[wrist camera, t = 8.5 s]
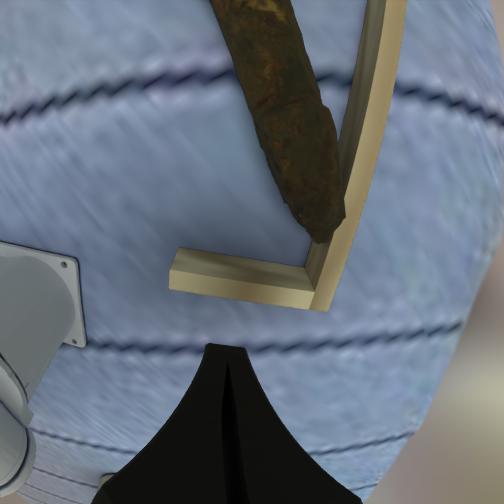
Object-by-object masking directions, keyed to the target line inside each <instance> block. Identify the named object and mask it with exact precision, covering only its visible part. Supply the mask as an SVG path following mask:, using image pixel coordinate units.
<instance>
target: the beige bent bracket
mask: <svg viewBox="0 0 504 504" xmlns="http://www.w3.org/2000/svg"><path fill="white" fill-rule="evenodd" d="M406 4H407V0H368V1H367V7H366V13H365V19H364V25H363V30H362V36H361V41H360V47H359V52H358V57H357V62H356V67H355V72H354V77H353V82H352V86H351V91H350V96H349V100H348V105H347V109H346V113H345V118H344V122H343V126H342V130H341V135H340V139H339V143H338V151H339V164H340V171H341V174H342V179H343V192H344V201H345V211H346V218H345V219H344V220H343V221H342V223H341V225H340V226H339V227H338V228H337V229H336V230H335V231H334V233H333V234H332V236H331V237H330V238H329V240H328V241H327V242H326V243H321V244H317V243H314V241H313V240H312V243H311V247H310V250H309V253H308V257H307V260H306V263H305V267H304V268H303V267H296V266H290V265H284V264H278V263H272V262H266V261H259V260H253V259H247V258H241V257H235V256H229V255H223V254H217V253H211V252H205V251H199V250H193V249H187V248H181V247H179V248H178V251H177V253H176V256H175V258H174V261H173V263H172V266H171V268H170V275H169V287H168V289H173V290H178V291H184V292H190V293H196V294H202V295H209V296H215V297H221V298H228V299H234V300H241V301H248V302H255V303H262V304H269V305H277V306H284V307H292V308H300V309H308V310H317V311H325V312H328V309H329V306H330V304H331V301H332V299H333V296H334V293H335V291H336V288H337V285H338V282H339V280H340V277H341V274H342V271H343V269H344V266H345V263H346V260H347V257H348V254H349V251H350V248H351V245H352V242H353V239H354V236H355V233H356V230H357V227H358V224H359V221H360V217H361V214H362V211H363V208H364V204H365V201H366V198H367V194H368V191H369V187H370V184H371V180H372V177H373V173H374V169H375V166H376V162H377V158H378V154H379V150H380V146H381V142H382V138H383V134H384V130H385V126H386V121H387V117H388V112H389V108H390V103H391V98H392V94H393V89H394V83H395V78H396V73H397V67H398V61H399V56H400V49H401V43H402V36H403V29H404V21H405V13H406Z"/></svg>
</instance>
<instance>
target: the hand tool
mask: <svg viewBox="0 0 504 504" xmlns="http://www.w3.org/2000/svg"><path fill="white" fill-rule="evenodd" d="M209 1H210V3H211V5H212V7H213V10H214V13H215V15H216V18H217V21H218V23H219V26H220V28H221V31H222V33H223V36H224V39H225V41H226V44H227V46H228V49H229V52H230V54H231V56H232V60H233V63H234V67H235V70H236V72H237V75H238V78H239V81H240V84H241V87H242V90H243V92H244V95H245V98H246V102H247V104H248V108H249V110H250V112H251V114H252V117H253V120H254V125H255V129H256V133H257V136H258V139H259V143H260V146H261V148H262V149H263V150H264V152H265V155H266V160H267V162H268V166H269V168H270V170H271V173H272V175H273V177H274V180H275V182H276V184H277V185H278V187H279V190H280V193H281V196H282V198H283V200H284V203H287V204H288V206H289V208H290V210H291V213H292V215H293V216H294V218H295V219H296V220H297V222H298V223H299V224H300V225H302V226H303V227H304V228H305V229H306V230H307V232H308V233H309V234H310V236H311V238H312V239H313V241H314V243H317V244H321V243H326V242H327V241H328V240H329V238H330V237H331V236H332V234H333V233H334V231H335V230H336V229H337V228H338V227H339V226H340V225H341V223H342V221H343V220H344V219H345V218H346V211H345V201H344V192H343V179H342V174H341V171H340V164H339V151H338V142H337V133H336V128H335V124H334V121H333V118H332V115H331V112H330V110H329V108H327V107H326V106H324V105H323V104H322V100H321V95H320V90H319V87H318V84H317V80H316V78H315V75H314V72H313V69H312V66H311V63H310V60H309V57H308V55H307V53H306V50H305V46H304V42H303V37H302V33H301V31H300V28H299V26H298V23H297V20H296V17H295V14H294V10H293V7H292V4H291V1H290V0H209Z"/></svg>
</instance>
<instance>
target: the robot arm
mask: <svg viewBox="0 0 504 504" xmlns="http://www.w3.org/2000/svg"><path fill="white" fill-rule="evenodd" d="M64 262H65V263H66V264H67V266H66V265H65V264H64ZM75 340H76V341H75ZM62 342H64V343H67V344H71V345H74V346H78V347H82V348H83V347H85V345H86V335H85V329H84V321H83V314H82V305H81V296H80V285H79V272H78V263H77V261H76V260H75V259H74V258H72V257H67V256H62V255H57V254H53V253H48V252H43V251H39V250H34V249H30V248H26V247H21V246H17V245H12V244H8V243H4V242H0V497H3V496H6V495H9V494H11V493H13V492H15V491H16V490H17V489H19V488H20V487H21V486H22V485H23V484H24V483H25V482H26V480H27V479H28V477H29V475H30V473H31V471H32V468H33V465H34V461H35V456H36V442H35V438H34V435H33V433H32V431H31V430H30V428H29V427H28V426H29V423H30V421H31V419H32V417H33V413H32V412H31V410H30V409H29V407H28V405H27V404H28V403H29V401H30V399H31V397H32V395H33V393H34V391H35V389H36V387H37V386H38V384H39V382H40V380H41V378H42V377H43V375H44V373H45V371H46V369H47V368H48V366H49V364H50V362H51V361H52V359H53V357H54V356H55V354H56V352H57V351H58V349H59V347H60V346H61V344H62ZM91 504H363V503H362V501H361V498H359V497H358V496H356V495H355V494H354V493H352V492H351V491H349V490H348V489H347V488H345V487H344V486H343V485H341V484H340V483H339V482H337V481H336V480H335V479H334V478H333V477H331V476H330V475H329V474H328V473H327V472H326V471H325V470H323V469H322V468H321V467H320V466H319V465H318V464H317V463H316V462H315V461H314V460H313V459H312V458H311V457H310V456H309V455H308V453H307V452H306V451H305V450H304V449H303V448H302V447H301V446H300V445H299V443H298V442H297V441H296V440H295V439H294V437H293V436H292V435H291V433H290V432H289V431H288V430H287V428H286V427H285V425H284V424H283V423H282V421H281V420H280V418H279V417H278V415H277V413H276V412H275V410H274V409H273V407H272V405H271V404H270V402H269V400H268V398H267V396H266V395H265V393H264V391H263V389H262V387H261V385H260V383H259V381H258V379H257V377H256V374H255V372H254V370H253V367H252V365H251V362H250V360H249V357H248V354H247V351H246V349H245V348H243V347H235V346H227V345H220V344H213V343H208V344H207V345H206V346H205V352H204V355H203V358H202V361H201V364H200V366H199V368H198V371H197V373H196V375H195V377H194V379H193V381H192V383H191V385H190V386H189V388H188V390H187V391H186V393H185V395H184V396H183V398H182V400H181V401H180V403H179V404H178V406H177V407H176V409H175V410H174V412H173V413H172V415H171V416H170V417H169V419H168V420H167V421H166V423H165V424H164V425H163V426H162V428H161V429H160V430H159V431H158V432H157V434H156V435H155V436H154V437H153V438H152V440H151V441H150V442H149V443H148V444H147V445H146V446H145V447H144V448H143V449H142V450H141V451H140V452H139V453H138V454H137V455H136V456H135V457H134V458H133V459H132V460H131V461H130V462H129V463H128V464H127V465H125V466H124V467H123V468H122V469H121V470H120V471H118V472H117V473H116V474H115V475H113V476H112V477H111V478H110V479H108V480H107V481H106V482H105V483H103V484H102V486H101V487H100V489H99V491H98V492H97V494H96V495H95V497H94V499H93V501H92V503H91Z"/></svg>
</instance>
